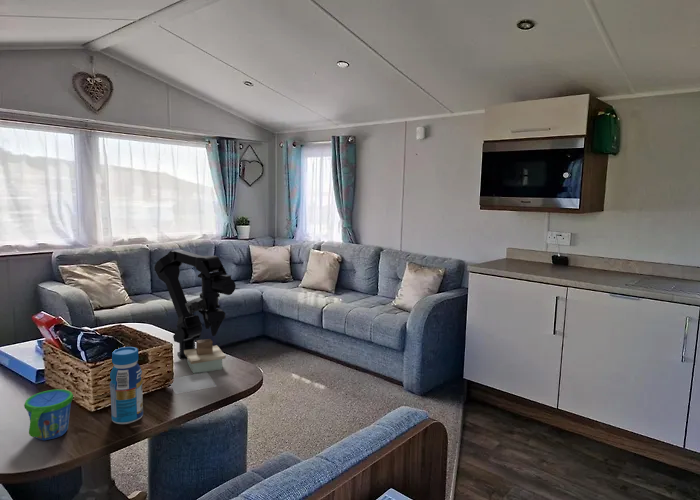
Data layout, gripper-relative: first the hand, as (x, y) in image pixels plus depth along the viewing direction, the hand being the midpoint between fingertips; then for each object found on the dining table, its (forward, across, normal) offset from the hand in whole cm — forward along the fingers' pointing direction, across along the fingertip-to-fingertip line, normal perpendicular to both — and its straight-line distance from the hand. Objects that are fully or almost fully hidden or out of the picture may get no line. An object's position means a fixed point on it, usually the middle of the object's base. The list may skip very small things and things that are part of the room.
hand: (210, 332), depth 174 cm
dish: (+12, +3, -3) cm, 13 cm away
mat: (+12, +15, -10) cm, 22 cm away
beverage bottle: (+12, +30, -31) cm, 45 cm away
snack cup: (+12, +30, -49) cm, 59 cm away
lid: (+8, +3, -3) cm, 9 cm away
